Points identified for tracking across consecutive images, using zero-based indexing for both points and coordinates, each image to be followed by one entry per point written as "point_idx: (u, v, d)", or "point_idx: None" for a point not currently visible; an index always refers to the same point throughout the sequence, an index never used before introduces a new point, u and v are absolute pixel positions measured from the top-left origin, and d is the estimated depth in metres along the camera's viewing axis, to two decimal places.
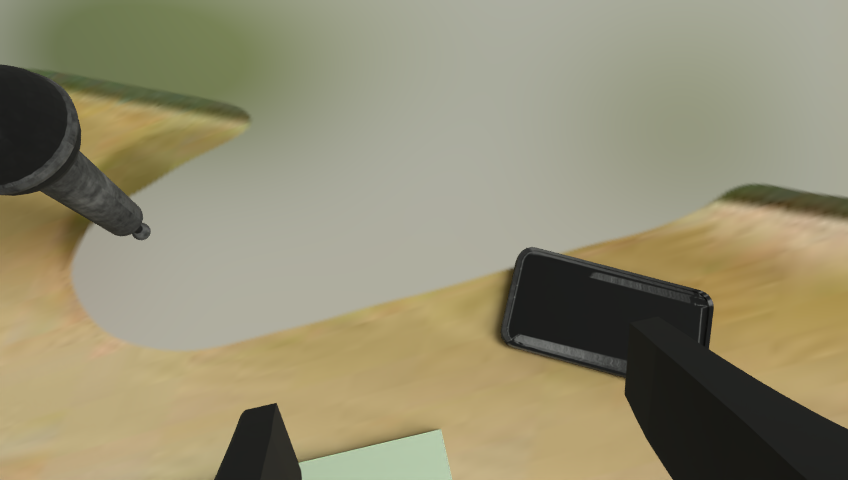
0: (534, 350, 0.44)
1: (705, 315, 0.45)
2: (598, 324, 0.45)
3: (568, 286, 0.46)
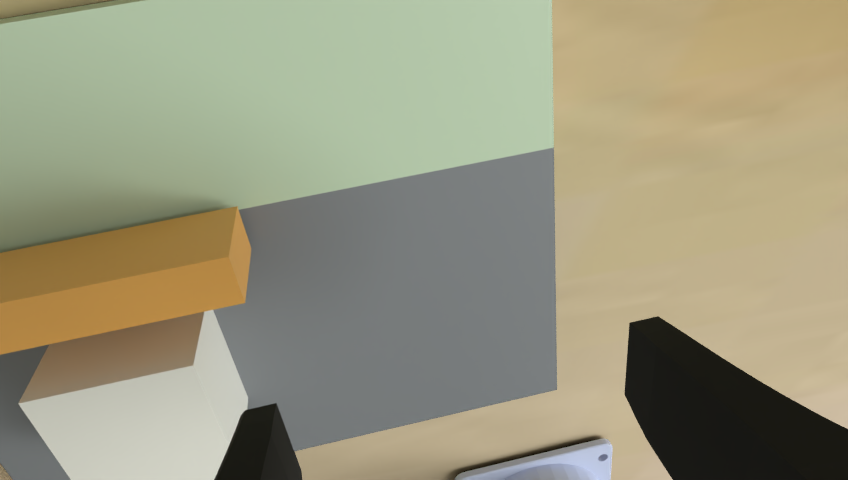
0: None
1: None
2: None
3: None
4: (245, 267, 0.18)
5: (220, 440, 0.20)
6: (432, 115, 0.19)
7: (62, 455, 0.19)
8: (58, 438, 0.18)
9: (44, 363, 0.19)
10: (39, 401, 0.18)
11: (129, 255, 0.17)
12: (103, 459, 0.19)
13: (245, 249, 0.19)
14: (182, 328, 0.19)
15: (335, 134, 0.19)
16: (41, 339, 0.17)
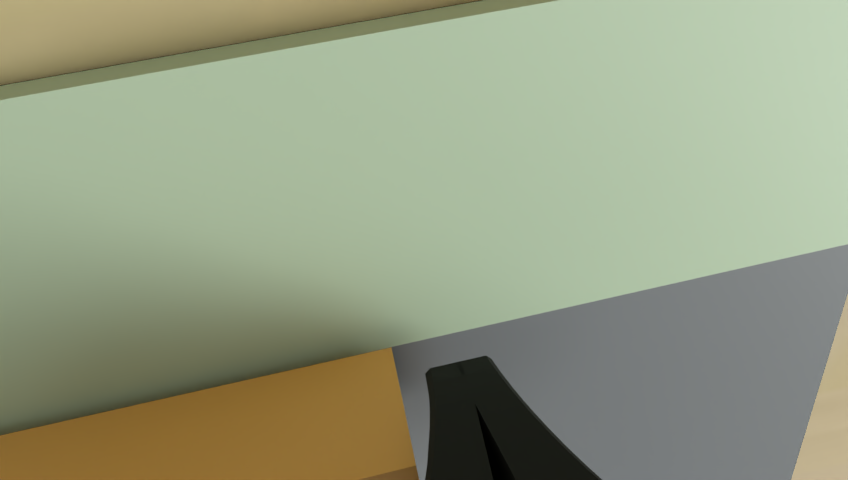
0: None
1: None
2: None
3: None
4: None
5: None
6: (714, 203, 0.13)
7: None
8: None
9: None
10: None
11: (245, 449, 0.11)
12: None
13: None
14: None
15: (573, 234, 0.12)
16: None
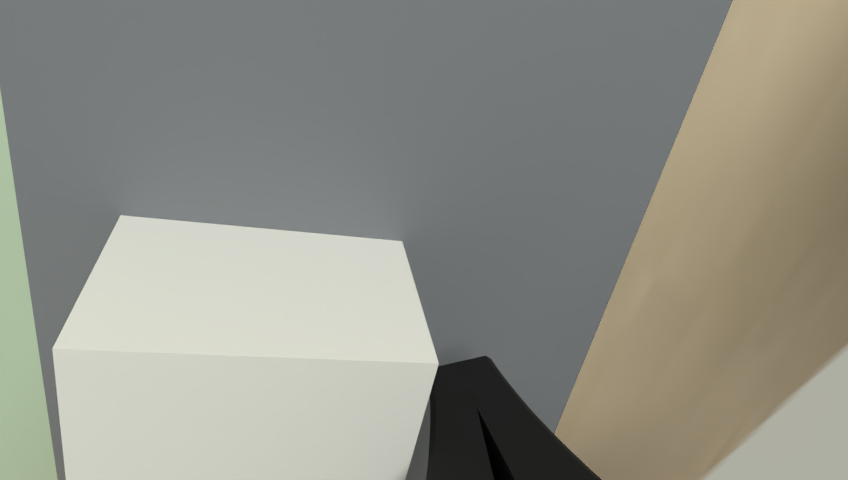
0: None
1: None
2: None
3: None
4: None
5: (318, 368, 0.08)
6: None
7: None
8: None
9: None
10: None
11: None
12: None
13: None
14: None
15: None
16: None
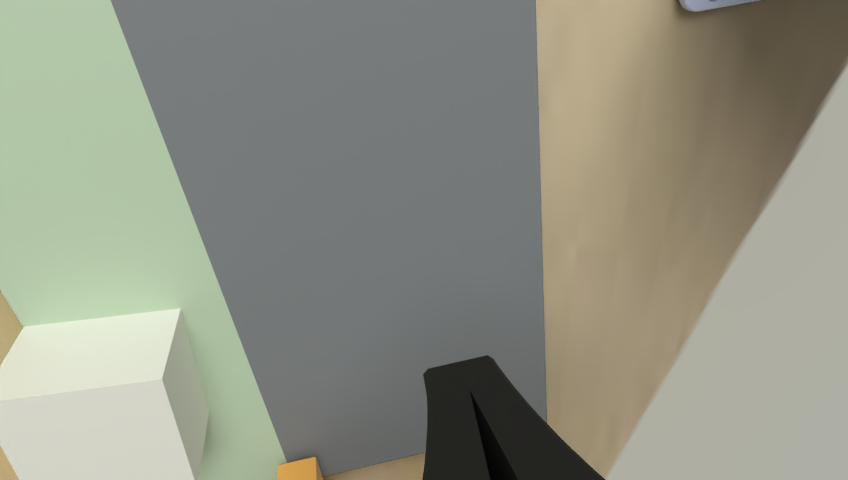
0: None
1: None
2: None
3: None
4: None
5: (102, 391, 0.18)
6: (70, 91, 0.17)
7: None
8: None
9: None
10: None
11: None
12: (121, 473, 0.20)
13: (303, 476, 0.25)
14: None
15: (115, 189, 0.18)
16: None
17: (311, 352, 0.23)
